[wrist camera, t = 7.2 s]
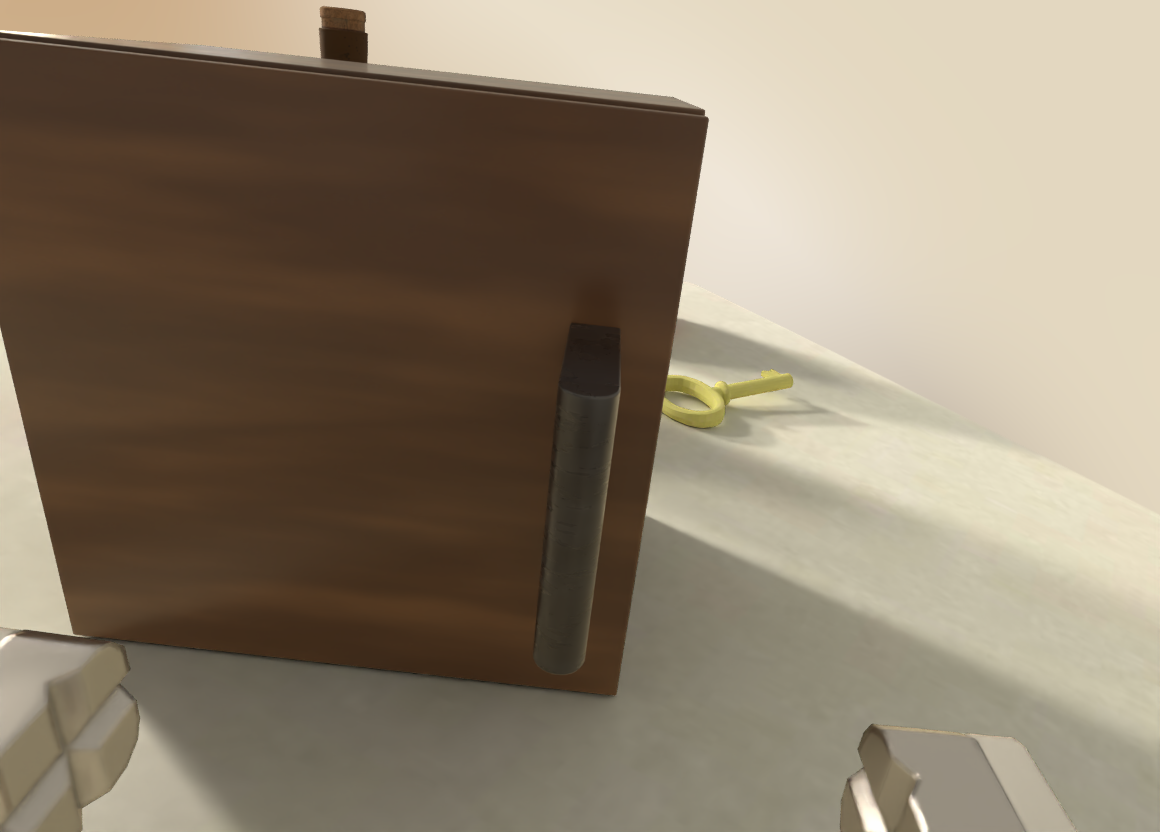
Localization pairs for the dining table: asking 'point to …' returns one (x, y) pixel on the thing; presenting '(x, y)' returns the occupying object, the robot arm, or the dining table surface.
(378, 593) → the door
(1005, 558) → the dining table surface
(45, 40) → the cupboard
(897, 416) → the dining table surface
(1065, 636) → the dining table surface
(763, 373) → the key
